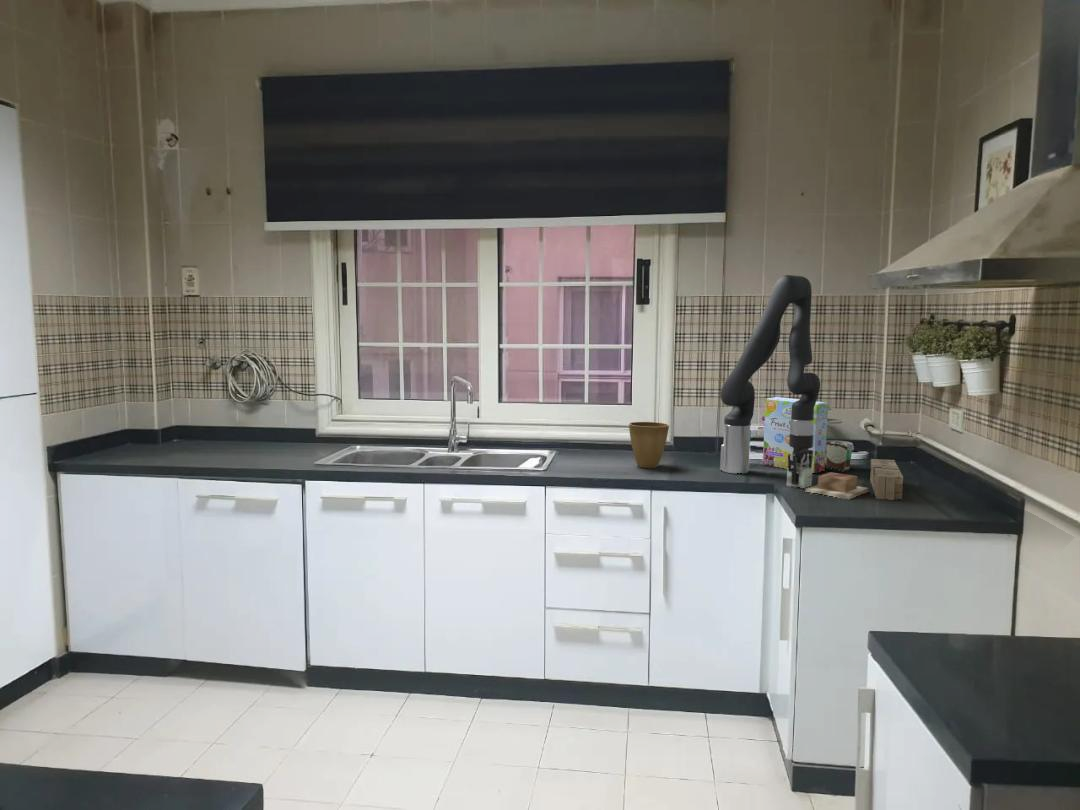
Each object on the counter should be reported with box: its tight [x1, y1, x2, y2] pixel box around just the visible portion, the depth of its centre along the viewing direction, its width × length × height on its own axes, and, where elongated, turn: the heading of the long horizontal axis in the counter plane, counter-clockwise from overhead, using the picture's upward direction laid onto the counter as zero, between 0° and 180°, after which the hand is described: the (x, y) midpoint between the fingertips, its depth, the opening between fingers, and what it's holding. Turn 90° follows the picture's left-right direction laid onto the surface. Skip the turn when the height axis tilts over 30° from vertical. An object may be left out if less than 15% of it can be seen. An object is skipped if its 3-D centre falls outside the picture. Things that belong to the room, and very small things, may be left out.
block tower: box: [869, 458, 904, 501], centre depth 257 cm, size 8×8×29 cm
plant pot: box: [628, 421, 670, 469], centre depth 292 cm, size 15×15×16 cm
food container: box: [825, 439, 855, 472], centre depth 292 cm, size 12×6×10 cm, turn 22°
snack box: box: [762, 396, 829, 474], centre depth 290 cm, size 22×9×26 cm, turn 42°
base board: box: [804, 471, 869, 500], centre depth 253 cm, size 14×16×5 cm
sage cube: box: [786, 467, 813, 489], centre depth 262 cm, size 6×6×6 cm
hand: (799, 482), depth 262 cm, fingers closed on sage cube, 6 cm apart
